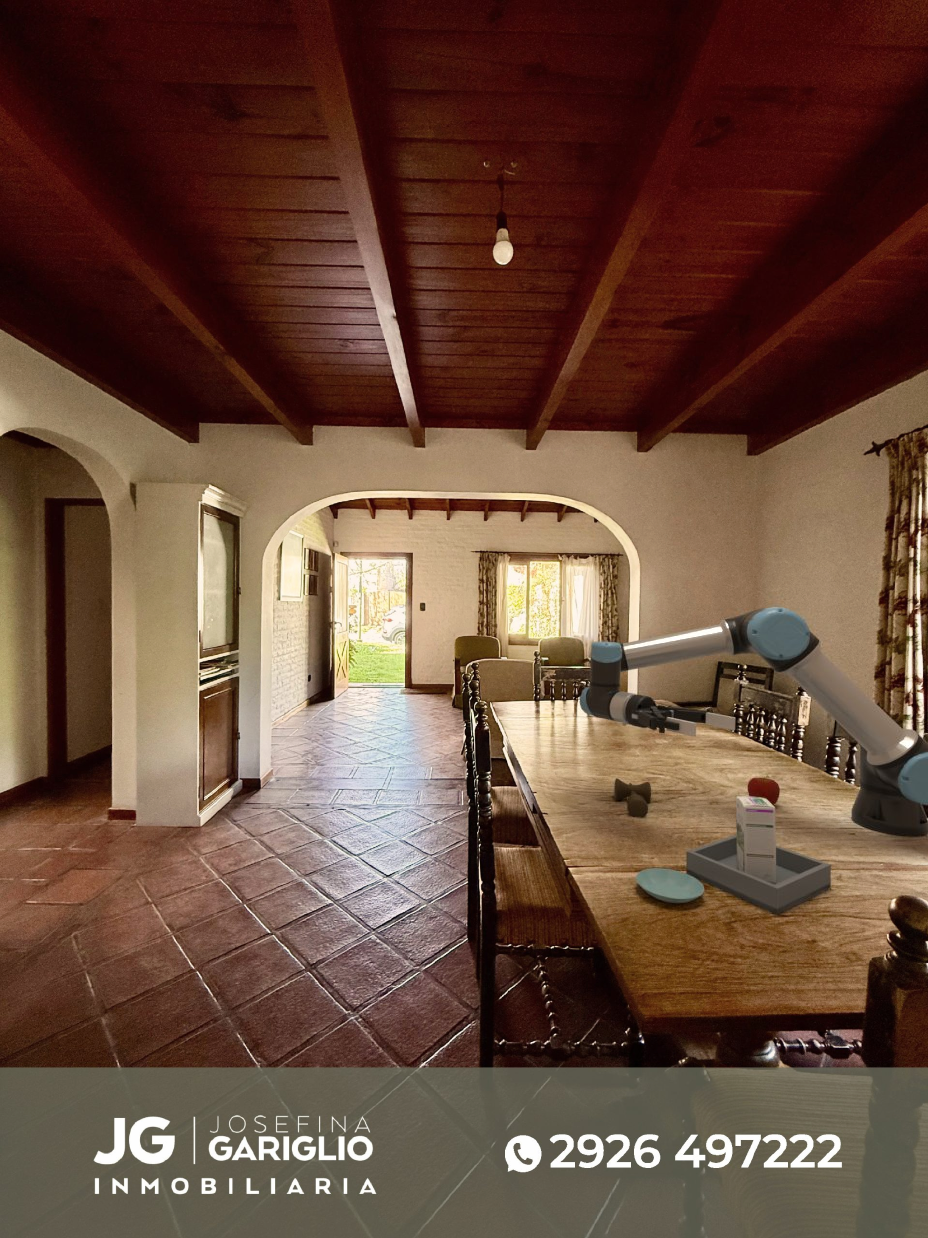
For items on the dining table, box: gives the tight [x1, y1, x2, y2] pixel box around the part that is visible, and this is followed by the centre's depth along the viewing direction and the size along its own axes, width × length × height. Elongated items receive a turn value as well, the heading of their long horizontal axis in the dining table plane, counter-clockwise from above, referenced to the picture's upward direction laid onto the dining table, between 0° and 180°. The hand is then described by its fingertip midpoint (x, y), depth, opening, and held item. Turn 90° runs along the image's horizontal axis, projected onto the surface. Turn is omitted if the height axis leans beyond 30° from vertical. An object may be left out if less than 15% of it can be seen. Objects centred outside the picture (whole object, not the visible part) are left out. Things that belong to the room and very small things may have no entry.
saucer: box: [635, 867, 705, 904], centre depth 103 cm, size 12×12×2 cm
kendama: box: [613, 778, 652, 818], centre depth 152 cm, size 6×10×20 cm
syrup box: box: [735, 795, 777, 883], centre depth 108 cm, size 6×6×14 cm
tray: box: [685, 833, 832, 916], centre depth 108 cm, size 18×18×4 cm
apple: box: [747, 776, 781, 806], centre depth 152 cm, size 8×8×8 cm
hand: (715, 726), depth 117 cm, fingers open, 13 cm apart
